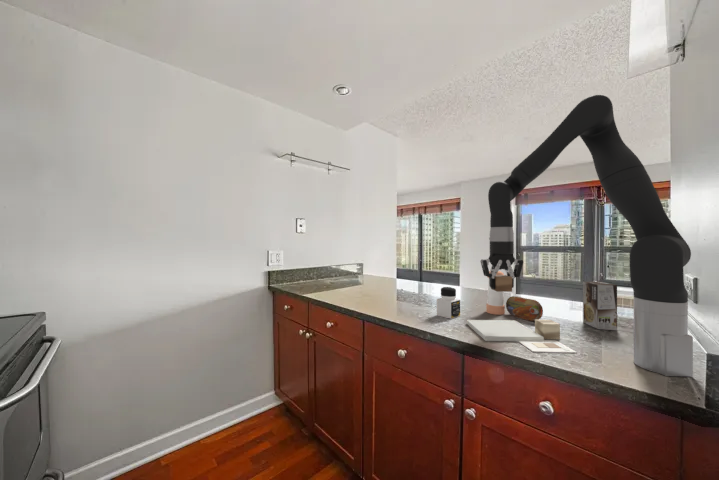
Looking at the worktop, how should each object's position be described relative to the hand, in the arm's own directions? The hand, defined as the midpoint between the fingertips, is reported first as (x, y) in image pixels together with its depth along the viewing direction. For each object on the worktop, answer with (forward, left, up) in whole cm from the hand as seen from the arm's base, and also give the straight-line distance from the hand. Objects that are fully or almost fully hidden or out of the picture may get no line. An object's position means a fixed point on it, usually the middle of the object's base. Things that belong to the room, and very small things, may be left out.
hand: (501, 288), depth 97 cm
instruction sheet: (-13, -7, -15) cm, 21 cm away
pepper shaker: (+26, -9, -15) cm, 31 cm away
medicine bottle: (+20, +13, -15) cm, 28 cm away
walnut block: (0, 0, 0) cm, 0 cm away
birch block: (-4, -13, -15) cm, 20 cm away
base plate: (0, 0, -15) cm, 15 cm away
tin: (+18, -17, -15) cm, 29 cm away
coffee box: (+8, -39, -15) cm, 43 cm away
